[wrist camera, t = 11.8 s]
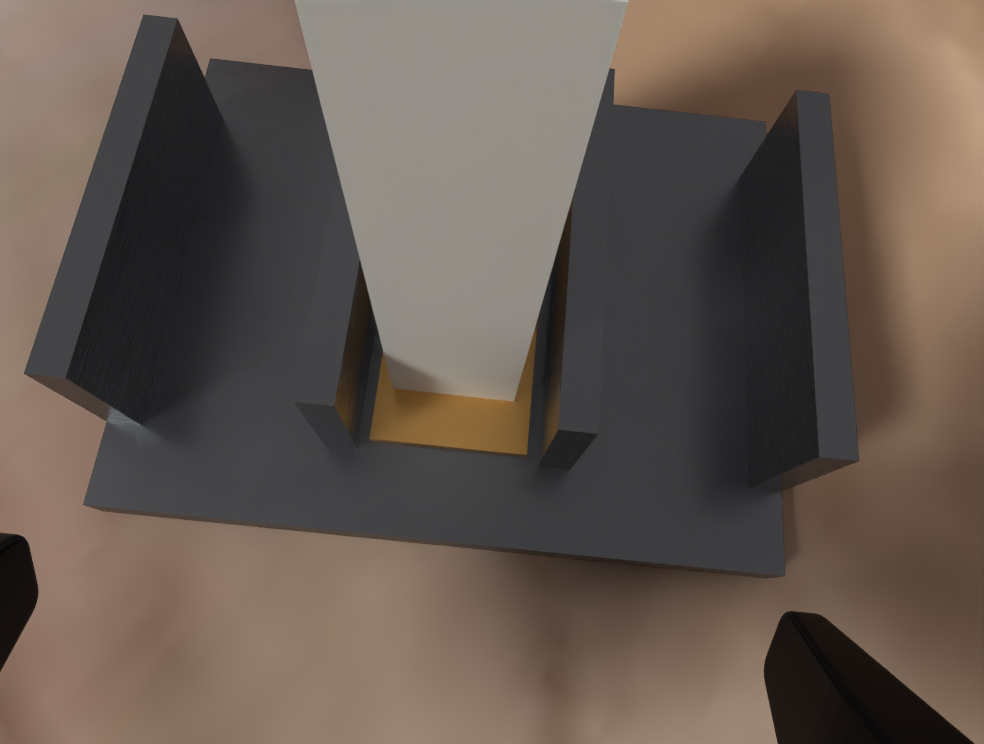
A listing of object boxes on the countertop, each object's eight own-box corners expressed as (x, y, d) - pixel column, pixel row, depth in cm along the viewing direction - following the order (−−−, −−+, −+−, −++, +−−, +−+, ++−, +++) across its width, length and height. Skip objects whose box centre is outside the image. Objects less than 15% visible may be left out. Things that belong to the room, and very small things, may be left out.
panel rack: (766, 578, 18) (867, 565, 13) (103, 510, 17) (-11, 476, 13) (751, 143, 22) (824, 29, 18) (220, 82, 22) (164, -49, 17)
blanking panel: (513, 401, 18) (628, 3, 6) (392, 388, 17) (284, -39, 6) (531, 193, 20) (644, -395, 8) (423, 181, 19) (383, -428, 8)
